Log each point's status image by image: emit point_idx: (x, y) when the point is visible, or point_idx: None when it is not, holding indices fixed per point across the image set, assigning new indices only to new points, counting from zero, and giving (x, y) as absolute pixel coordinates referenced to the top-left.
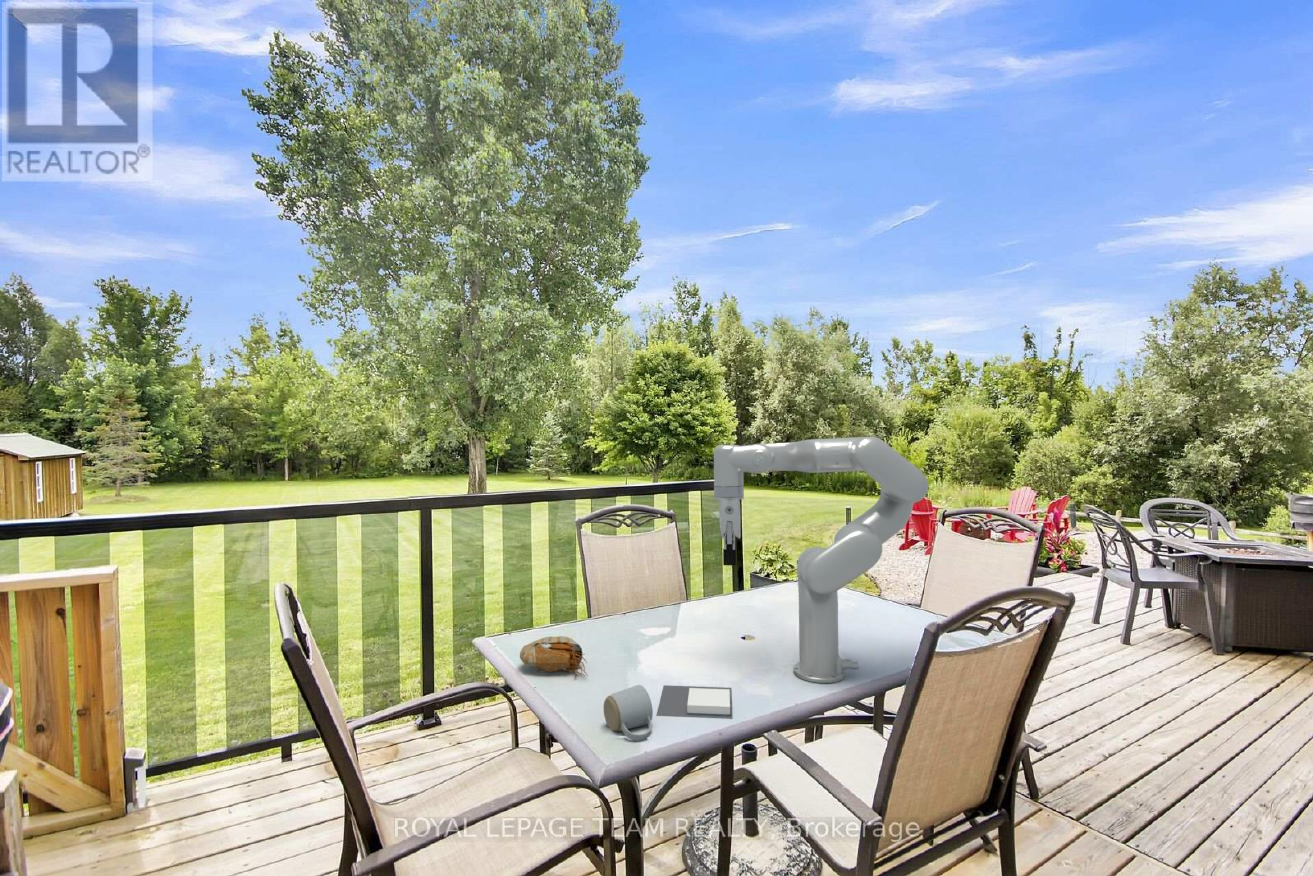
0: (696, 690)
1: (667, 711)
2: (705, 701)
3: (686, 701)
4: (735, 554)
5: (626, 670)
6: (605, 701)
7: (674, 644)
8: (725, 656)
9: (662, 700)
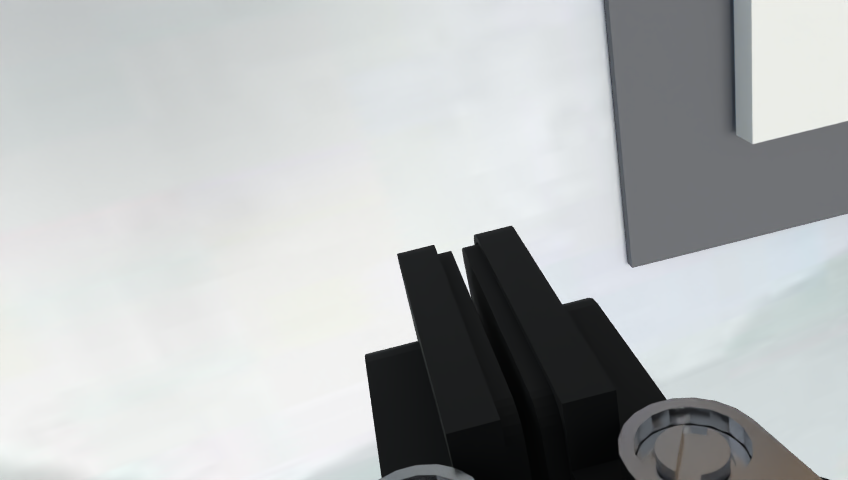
0: (776, 107)
1: None
2: None
3: None
4: (576, 328)
5: None
6: None
7: (72, 401)
8: (133, 105)
9: (775, 222)
